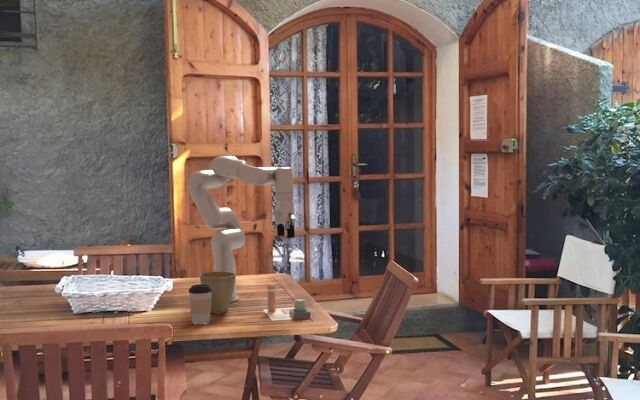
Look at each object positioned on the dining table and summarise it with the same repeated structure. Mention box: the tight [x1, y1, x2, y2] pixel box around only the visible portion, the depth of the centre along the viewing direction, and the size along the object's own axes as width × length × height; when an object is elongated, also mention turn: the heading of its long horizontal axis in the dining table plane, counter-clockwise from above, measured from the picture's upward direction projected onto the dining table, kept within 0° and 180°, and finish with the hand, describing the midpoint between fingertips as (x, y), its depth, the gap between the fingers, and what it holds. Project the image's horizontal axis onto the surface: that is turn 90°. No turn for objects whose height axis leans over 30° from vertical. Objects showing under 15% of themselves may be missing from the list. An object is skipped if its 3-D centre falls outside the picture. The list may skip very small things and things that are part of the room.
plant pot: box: [199, 271, 237, 315], centre depth 310 cm, size 15×15×16 cm
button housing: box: [289, 307, 312, 320], centre depth 299 cm, size 7×7×2 cm
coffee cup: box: [188, 283, 212, 325], centre depth 293 cm, size 9×9×15 cm
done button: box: [293, 298, 306, 312], centre depth 299 cm, size 4×4×5 cm
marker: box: [267, 283, 277, 312], centre depth 308 cm, size 3×3×11 cm
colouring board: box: [263, 306, 313, 322], centre depth 304 cm, size 16×20×1 cm
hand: (285, 236), depth 316 cm, fingers open, 9 cm apart
